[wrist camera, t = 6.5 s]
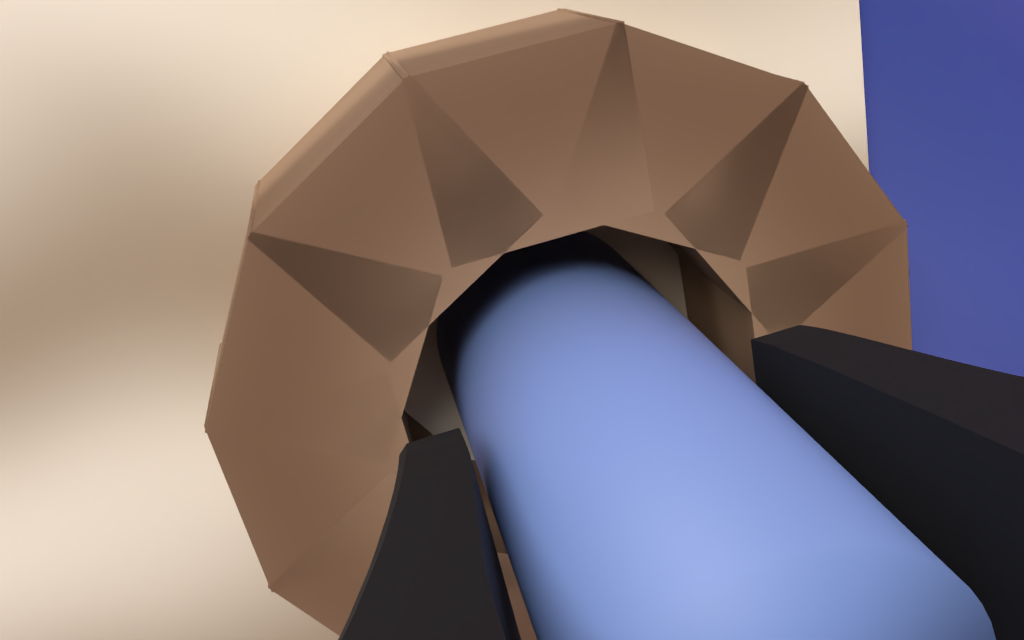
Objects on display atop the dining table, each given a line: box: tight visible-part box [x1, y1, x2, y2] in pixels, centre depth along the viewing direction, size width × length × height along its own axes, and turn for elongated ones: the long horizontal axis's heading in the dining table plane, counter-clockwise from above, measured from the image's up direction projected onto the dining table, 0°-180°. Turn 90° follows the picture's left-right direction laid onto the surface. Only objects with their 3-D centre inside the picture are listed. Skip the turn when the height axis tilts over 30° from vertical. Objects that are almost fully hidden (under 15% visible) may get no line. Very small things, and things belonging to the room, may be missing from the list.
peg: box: [437, 231, 996, 640], centre depth 10 cm, size 3×3×8 cm
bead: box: [204, 8, 912, 640], centre depth 13 cm, size 9×9×2 cm
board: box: [0, 0, 869, 640], centre depth 13 cm, size 14×18×1 cm
